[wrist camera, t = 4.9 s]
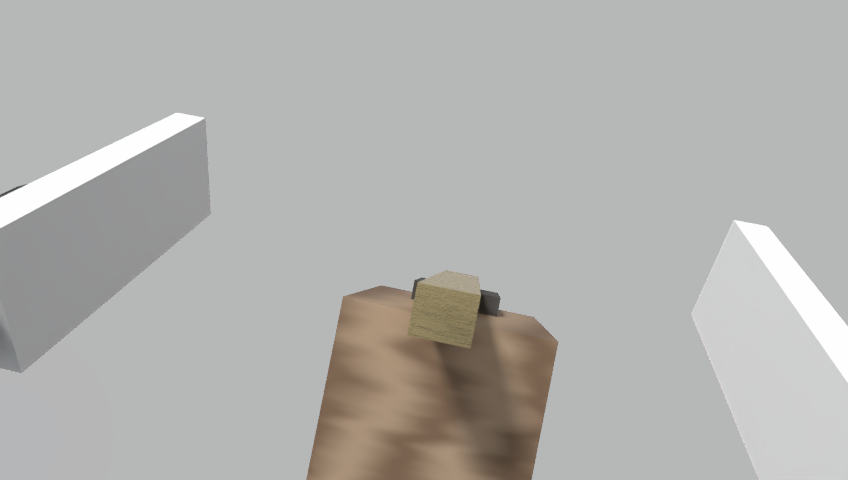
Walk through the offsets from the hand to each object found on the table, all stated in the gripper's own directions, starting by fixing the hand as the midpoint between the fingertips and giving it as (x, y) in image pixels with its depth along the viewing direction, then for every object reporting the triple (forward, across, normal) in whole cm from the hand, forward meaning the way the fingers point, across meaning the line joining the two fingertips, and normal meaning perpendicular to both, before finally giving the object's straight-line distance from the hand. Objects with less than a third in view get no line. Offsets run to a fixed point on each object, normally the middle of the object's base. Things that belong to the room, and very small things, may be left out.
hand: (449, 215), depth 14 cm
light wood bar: (+19, 0, +17) cm, 26 cm away
